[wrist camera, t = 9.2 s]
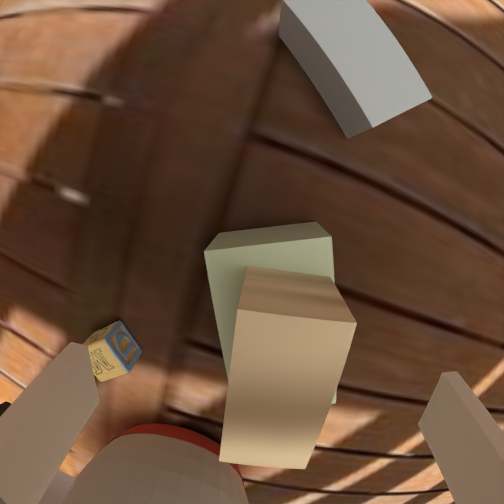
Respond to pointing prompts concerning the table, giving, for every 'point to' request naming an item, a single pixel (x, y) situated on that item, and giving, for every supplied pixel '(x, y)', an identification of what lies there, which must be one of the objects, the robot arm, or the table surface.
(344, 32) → the slate brick
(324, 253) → the sage brick
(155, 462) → the citrus juicer
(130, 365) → the alphabet block
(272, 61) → the table surface
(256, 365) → the maple brick
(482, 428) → the robot arm
